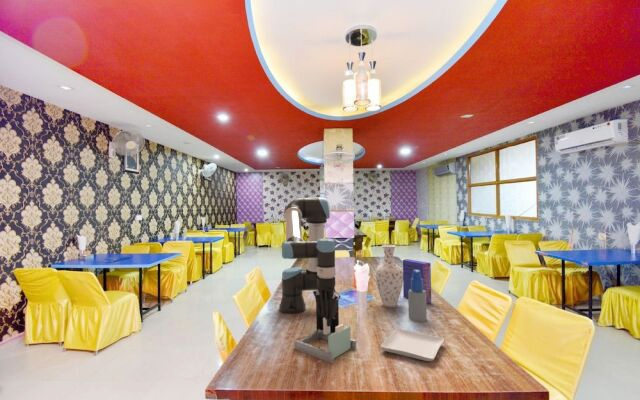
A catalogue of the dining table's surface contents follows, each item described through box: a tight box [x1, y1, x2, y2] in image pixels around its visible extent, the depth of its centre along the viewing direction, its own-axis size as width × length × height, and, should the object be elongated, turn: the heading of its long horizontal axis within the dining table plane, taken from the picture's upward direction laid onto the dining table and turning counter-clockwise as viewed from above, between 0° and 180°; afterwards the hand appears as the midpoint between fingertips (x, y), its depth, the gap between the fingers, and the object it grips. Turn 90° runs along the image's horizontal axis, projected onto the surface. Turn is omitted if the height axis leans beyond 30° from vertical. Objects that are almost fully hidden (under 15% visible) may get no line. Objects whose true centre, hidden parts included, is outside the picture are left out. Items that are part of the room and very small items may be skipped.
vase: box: [375, 244, 403, 308], centre depth 189 cm, size 16×16×35 cm
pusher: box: [327, 323, 351, 359], centre depth 127 cm, size 1×13×11 cm, turn 139°
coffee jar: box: [315, 290, 340, 333], centre depth 151 cm, size 11×11×18 cm
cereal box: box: [402, 259, 432, 305], centre depth 199 cm, size 17×5×24 cm, turn 34°
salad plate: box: [379, 328, 445, 362], centre depth 132 cm, size 21×21×3 cm
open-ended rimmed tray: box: [294, 329, 357, 365], centre depth 132 cm, size 20×16×4 cm
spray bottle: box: [407, 270, 428, 323], centre depth 166 cm, size 9×9×25 cm
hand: (326, 333), depth 132 cm, fingers closed
